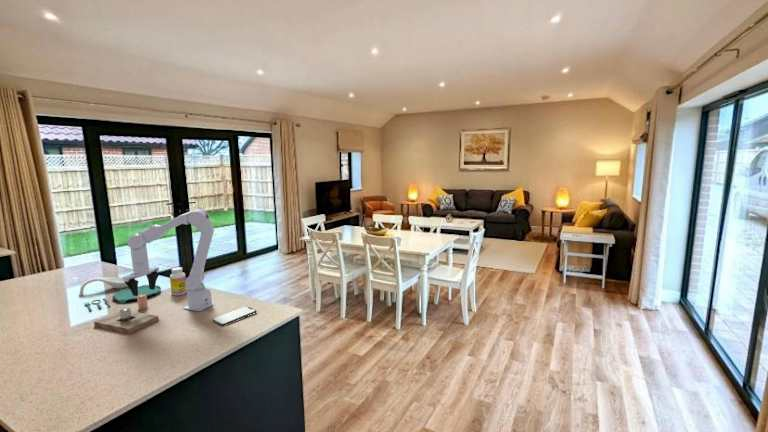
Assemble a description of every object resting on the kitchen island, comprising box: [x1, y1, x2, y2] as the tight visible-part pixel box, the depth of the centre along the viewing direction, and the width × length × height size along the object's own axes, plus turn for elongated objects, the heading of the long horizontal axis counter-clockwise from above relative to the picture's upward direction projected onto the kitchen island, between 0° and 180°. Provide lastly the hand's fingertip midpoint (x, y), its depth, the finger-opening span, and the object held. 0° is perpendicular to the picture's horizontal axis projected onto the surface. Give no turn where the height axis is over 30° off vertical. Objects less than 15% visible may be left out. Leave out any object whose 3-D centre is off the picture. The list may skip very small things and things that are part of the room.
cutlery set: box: [84, 284, 162, 312], centre depth 175 cm, size 20×30×2 cm, turn 135°
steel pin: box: [119, 307, 131, 322], centre depth 147 cm, size 4×4×6 cm
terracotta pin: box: [136, 294, 149, 311], centre depth 162 cm, size 4×4×6 cm
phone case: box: [211, 305, 257, 327], centre depth 152 cm, size 9×2×16 cm
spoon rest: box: [79, 276, 137, 296], centre depth 187 cm, size 24×12×7 cm, turn 129°
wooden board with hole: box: [93, 310, 160, 335], centre depth 147 cm, size 20×12×2 cm, turn 71°
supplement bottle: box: [169, 266, 187, 297], centre depth 179 cm, size 7×7×13 cm
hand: (144, 292), depth 156 cm, fingers open, 7 cm apart
